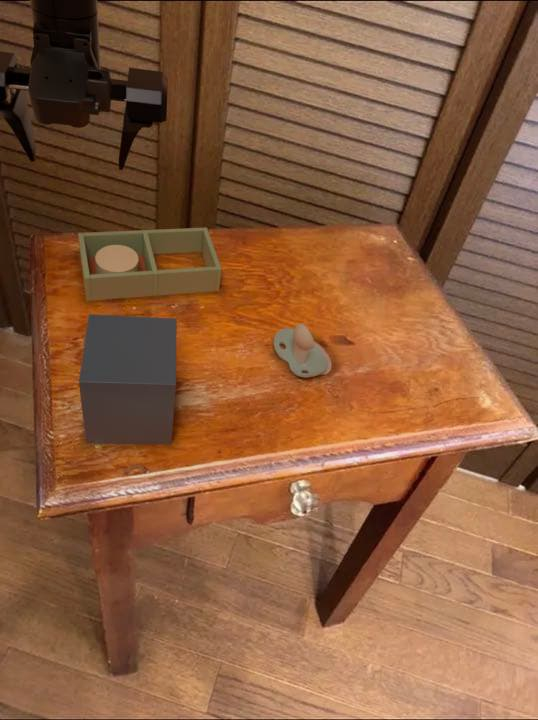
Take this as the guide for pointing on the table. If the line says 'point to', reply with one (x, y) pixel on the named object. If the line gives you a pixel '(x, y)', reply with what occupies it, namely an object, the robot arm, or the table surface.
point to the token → (116, 260)
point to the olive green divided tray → (149, 264)
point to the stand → (128, 379)
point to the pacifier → (302, 352)
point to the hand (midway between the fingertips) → (77, 163)
